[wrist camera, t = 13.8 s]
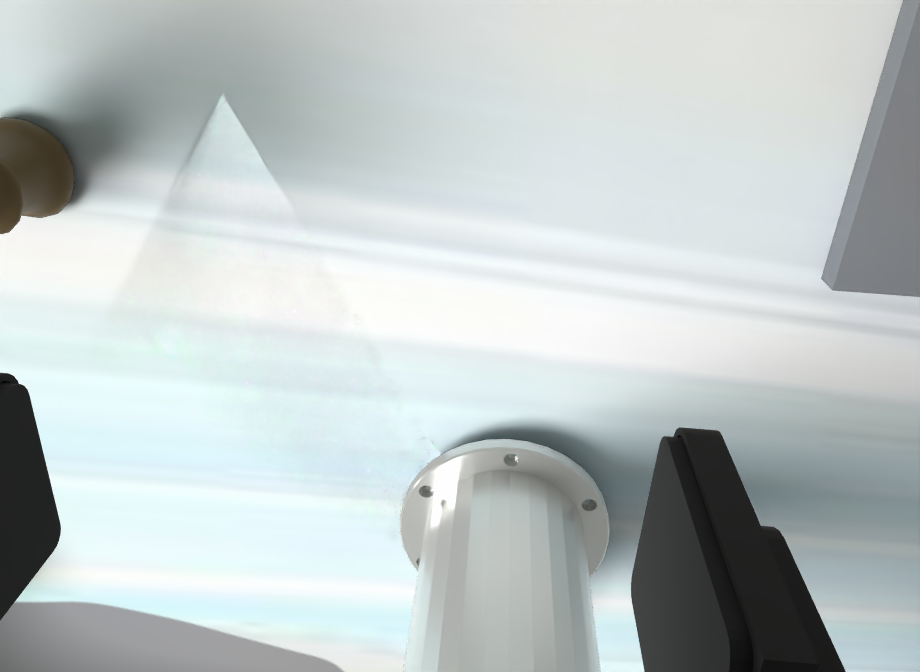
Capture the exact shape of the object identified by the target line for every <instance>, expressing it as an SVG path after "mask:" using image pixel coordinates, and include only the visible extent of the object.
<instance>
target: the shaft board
mask: <svg viewBox="0 0 920 672" xmlns="http://www.w3.org/2000/svg"><path fill="white" fill-rule="evenodd" d="M821 279H822V280H823V281H824V282H825V283H826V284H827V285H828V286H829V287H830V288H831V289H832V290H835V291H849V292H862V293H876V294H889V295H903V296H916V297H920V0H903V3H902V6H901V10H900V13H899V16H898V20H897V23H896V27H895V30H894V33H893V37H892V40H891V44H890V47H889V50H888V54H887V57H886V61H885V64H884V67H883V71H882V74H881V78H880V81H879V84H878V88H877V91H876V95H875V98H874V101H873V105H872V108H871V112H870V115H869V118H868V122H867V125H866V129H865V132H864V135H863V139H862V142H861V146H860V149H859V152H858V156H857V159H856V163H855V166H854V169H853V173H852V176H851V180H850V183H849V186H848V190H847V193H846V197H845V200H844V203H843V207H842V210H841V214H840V217H839V220H838V224H837V227H836V231H835V234H834V237H833V241H832V244H831V248H830V251H829V254H828V258H827V261H826V265H825V268H824V271H823V275H822V278H821Z"/></svg>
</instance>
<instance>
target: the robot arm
mask: <svg viewBox="0 0 920 672" xmlns="http://www.w3.org/2000/svg"><path fill="white" fill-rule="evenodd" d="M60 531H61V526H60V521H59V516H58V512H57V508H56V504H55V500H54V496H53V492H52V487H51V483H50V479H49V475H48V471H47V467H46V462H45V458H44V454H43V450H42V446H41V442H40V438H39V433H38V429H37V425H36V421H35V417H34V413H33V408H32V404H31V400H30V396H29V393H28V390H27V389H26V387H25V386H23V385H21V384H19V383H18V381H17V379H16V378H15V377H14V376H13V375H10V374H8V373H0V620H1V619H2V618H3V616H4V615H5V614H6V612H7V611H8V610H9V608H10V607H11V605H12V604H13V603H14V602H15V601H16V599H17V598H18V597H19V595H20V594H21V593H22V591H23V590H24V589H25V588H26V586H27V585H28V584H29V582H30V581H31V580H32V578H33V577H34V576H35V575H36V573H37V572H38V571H39V569H40V568H41V567H42V565H43V564H44V563H45V562H46V560H47V559H48V558H49V556H50V555H51V554H52V552H53V551H54V549H55V548H56V546H57V544H58V541H59V538H60ZM609 531H610V525H609V518H608V512H607V508H606V504H605V501H604V498H603V495H602V493H601V491H600V490H599V488H598V486H597V485H596V483H595V481H594V480H593V479H592V478H591V477H590V476H589V475H588V473H587V472H586V471H585V470H584V469H583V468H582V467H581V466H579V465H578V464H577V463H575V462H574V461H573V460H571V459H570V458H568V457H567V456H565V455H563V454H561V453H559V452H557V451H555V450H553V449H551V448H549V447H546V446H542V445H539V444H535V443H532V442H528V441H521V440H512V439H492V440H483V441H478V442H473V443H468V444H464V445H462V446H459V447H457V448H454V449H451V450H449V451H447V452H445V453H444V454H442V455H440V456H439V457H437V458H435V459H434V460H432V461H431V462H430V463H429V464H428V465H427V466H426V467H424V468H423V469H422V470H421V471H420V472H419V473H418V475H417V476H416V477H415V479H414V480H413V482H412V483H411V485H410V486H409V488H408V491H407V493H406V496H405V498H404V501H403V506H402V511H401V515H400V535H401V540H402V544H403V548H404V550H405V552H406V554H407V556H408V559H409V561H410V562H411V564H412V565H413V566H414V568H415V569H416V570H417V572H418V576H417V582H416V589H415V595H414V602H413V608H412V615H411V621H410V628H409V634H408V641H407V647H406V654H405V660H404V666H403V672H601V671H600V663H599V654H598V646H597V638H596V630H595V621H594V613H593V605H592V596H591V588H590V580H589V578H590V577H591V576H592V575H593V574H594V573H595V571H596V570H597V568H598V567H599V565H600V563H601V562H602V560H603V558H604V556H605V553H606V550H607V546H608V543H609ZM631 597H632V604H633V609H634V615H635V620H636V626H637V631H638V637H639V642H640V648H641V653H642V659H643V664H644V670H645V672H845V669H844V667H843V665H842V663H841V661H840V659H839V656H838V654H837V652H836V650H835V648H834V645H833V643H832V641H831V639H830V637H829V635H828V632H827V630H826V628H825V626H824V624H823V622H822V619H821V617H820V615H819V613H818V611H817V609H816V606H815V604H814V602H813V600H812V598H811V595H810V593H809V591H808V589H807V587H806V585H805V582H804V580H803V578H802V576H801V574H800V572H799V569H798V567H797V565H796V563H795V561H794V559H793V556H792V554H791V552H790V550H789V548H788V546H787V543H786V541H785V539H784V537H783V536H782V534H781V533H780V531H779V530H777V529H776V528H774V527H767V526H761V525H760V523H759V521H758V519H757V516H756V514H755V512H754V509H753V507H752V505H751V502H750V500H749V498H748V495H747V493H746V491H745V488H744V486H743V484H742V481H741V479H740V477H739V474H738V472H737V470H736V467H735V465H734V463H733V460H732V458H731V456H730V453H729V451H728V449H727V446H726V444H725V442H724V439H723V437H722V435H721V433H720V432H719V431H717V430H705V429H692V428H680V427H679V428H678V429H677V430H676V432H675V434H674V437H667V436H664V437H662V439H661V442H660V446H659V450H658V455H657V460H656V464H655V469H654V474H653V479H652V483H651V488H650V493H649V497H648V502H647V507H646V512H645V516H644V521H643V526H642V530H641V535H640V540H639V545H638V549H637V554H636V559H635V564H634V568H633V573H632V581H631Z"/></svg>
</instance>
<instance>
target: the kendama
mask: <svg viewBox="0 0 920 672" xmlns="http://www.w3.org/2000/svg"><path fill="white" fill-rule="evenodd" d="M73 187H74V175H73V167H72V162H71V160H70V158H69V156H68V154H67V152H66V150H65V148H64V146H63V144H61V143H60V142H59V141H58V140H57V139H56V138H55V137H54V136H52V135H51V134H50V133H49V132H48V131H47V130H46V129H43V128H41V127H39V126H37V125H35V124H32V123H30V122H28V121H26V120H20V119H12V118H5V117H4V118H0V234H4V233H8V232H10V231H11V230H12V229H13V228H14V226H15V225H16V224H17V223H18V222H19V221H20V218H21V216H29V217H36V218H43V217H47V216H51V215H55V214H58V213H59V212H60V211H61V210H62V209H63V208H64V207H65V205H66V204H67V203H68V202H69V201H70V199H71V195H72V191H73Z"/></svg>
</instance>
